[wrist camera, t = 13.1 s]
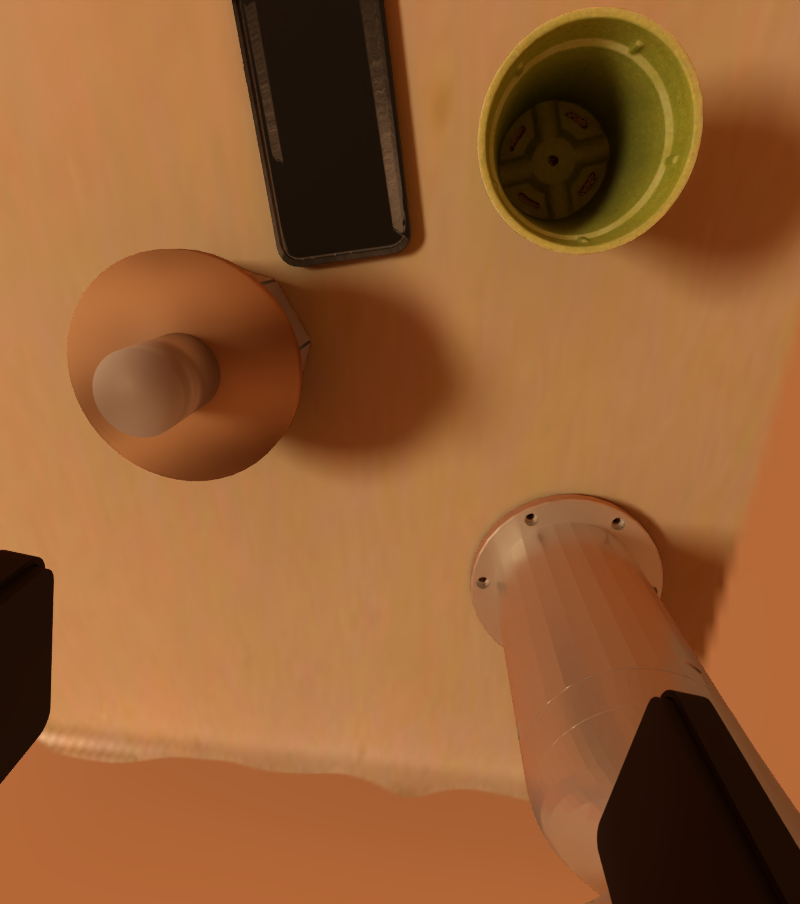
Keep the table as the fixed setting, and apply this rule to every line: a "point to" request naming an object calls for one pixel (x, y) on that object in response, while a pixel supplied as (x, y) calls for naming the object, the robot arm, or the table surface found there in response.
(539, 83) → the plant pot
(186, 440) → the lid
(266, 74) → the phone
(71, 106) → the table surface
